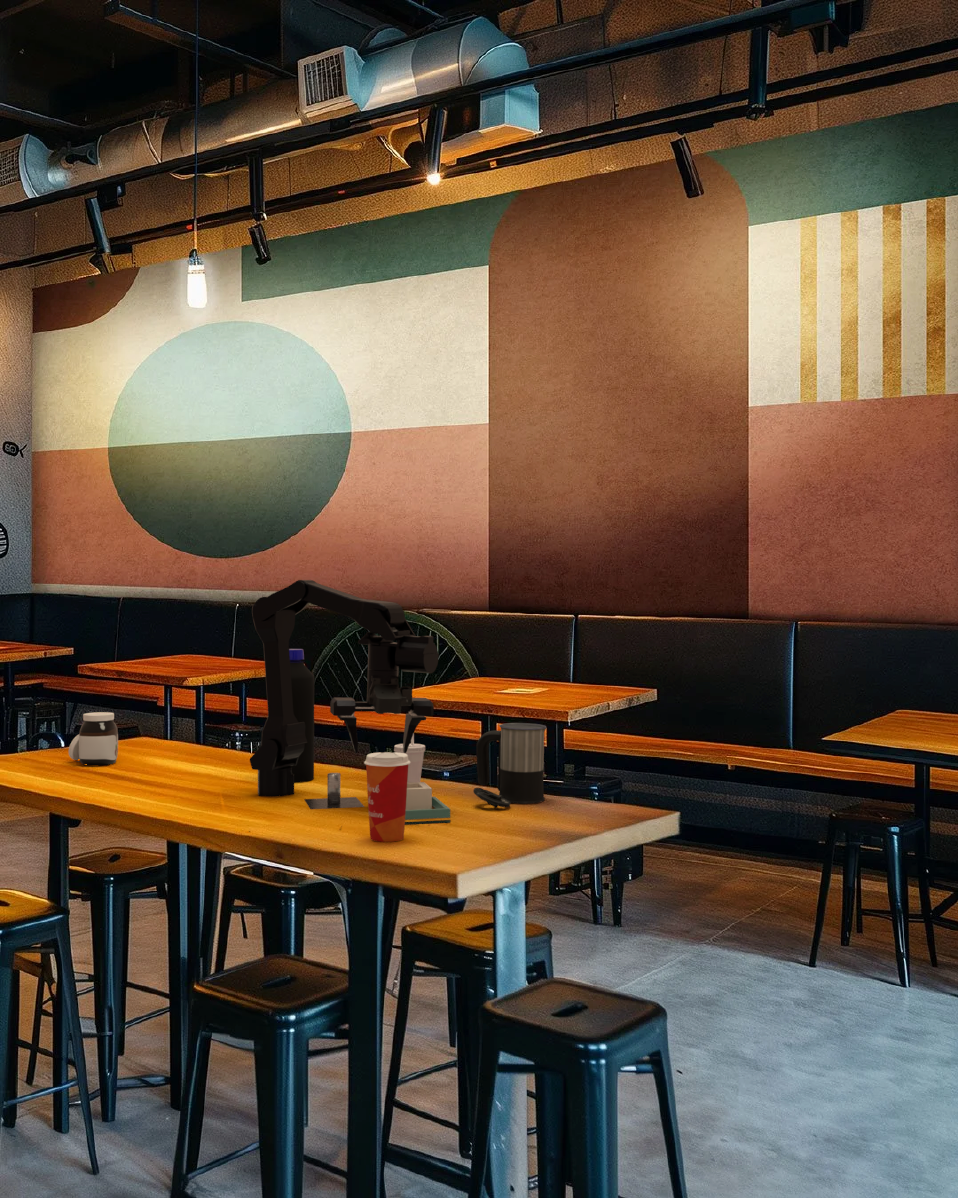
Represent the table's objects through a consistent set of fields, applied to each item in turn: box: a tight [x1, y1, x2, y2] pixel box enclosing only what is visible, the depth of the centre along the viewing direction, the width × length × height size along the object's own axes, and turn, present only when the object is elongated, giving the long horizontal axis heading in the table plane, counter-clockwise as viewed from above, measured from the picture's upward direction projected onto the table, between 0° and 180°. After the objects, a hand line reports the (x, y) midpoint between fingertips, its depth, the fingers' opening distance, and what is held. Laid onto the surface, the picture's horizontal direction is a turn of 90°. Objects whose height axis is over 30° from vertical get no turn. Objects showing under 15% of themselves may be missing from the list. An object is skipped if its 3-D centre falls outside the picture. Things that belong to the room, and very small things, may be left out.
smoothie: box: [393, 732, 426, 783], centre depth 241 cm, size 6×6×14 cm
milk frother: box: [473, 722, 547, 810], centre depth 231 cm, size 14×16×15 cm
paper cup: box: [363, 751, 410, 843], centre depth 199 cm, size 8×8×14 cm
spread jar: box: [68, 711, 119, 766], centre depth 278 cm, size 12×11×12 cm
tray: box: [405, 796, 451, 826], centre depth 217 cm, size 12×12×2 cm
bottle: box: [289, 648, 315, 784], centre depth 257 cm, size 9×9×28 cm
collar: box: [406, 781, 433, 810], centre depth 217 cm, size 7×7×5 cm
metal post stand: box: [304, 772, 365, 810], centre depth 225 cm, size 10×10×6 cm
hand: (380, 752), depth 223 cm, fingers open, 9 cm apart
